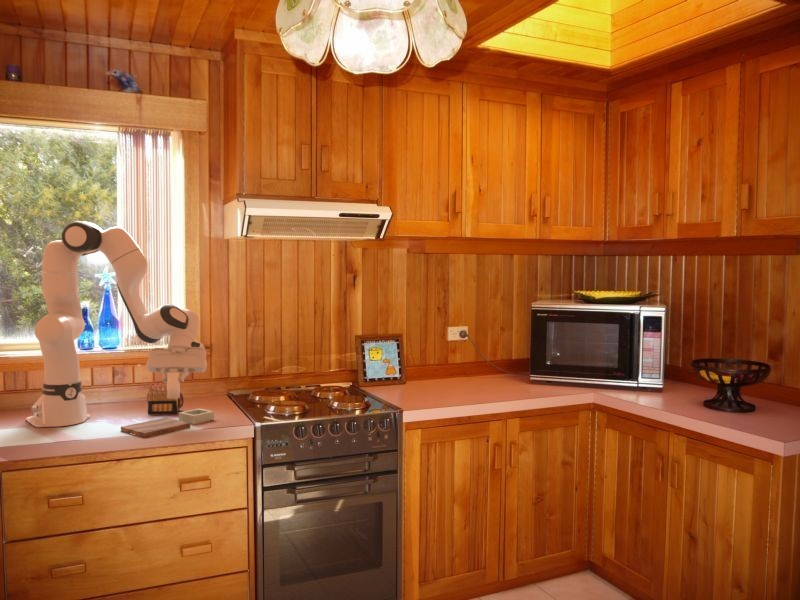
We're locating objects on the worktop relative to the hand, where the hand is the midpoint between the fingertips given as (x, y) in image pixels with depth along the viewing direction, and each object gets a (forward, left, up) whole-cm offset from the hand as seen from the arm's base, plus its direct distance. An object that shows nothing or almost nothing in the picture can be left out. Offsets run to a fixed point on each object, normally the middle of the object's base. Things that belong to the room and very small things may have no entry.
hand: (172, 380), depth 223 cm
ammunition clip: (-19, +8, -16) cm, 26 cm away
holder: (0, +9, -16) cm, 18 cm away
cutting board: (0, -7, -16) cm, 17 cm away
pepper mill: (-1, 0, -6) cm, 6 cm away
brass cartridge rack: (-24, +12, -16) cm, 31 cm away
